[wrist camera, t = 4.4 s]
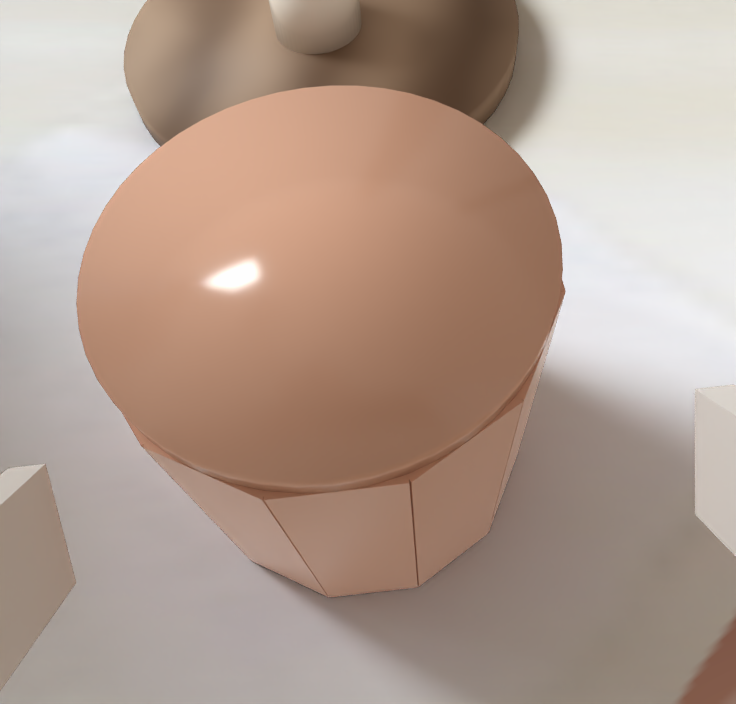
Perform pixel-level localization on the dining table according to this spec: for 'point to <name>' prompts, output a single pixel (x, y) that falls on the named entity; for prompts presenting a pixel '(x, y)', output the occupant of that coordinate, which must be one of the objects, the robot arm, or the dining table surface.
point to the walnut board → (315, 56)
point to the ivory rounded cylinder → (315, 24)
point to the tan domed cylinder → (329, 326)
